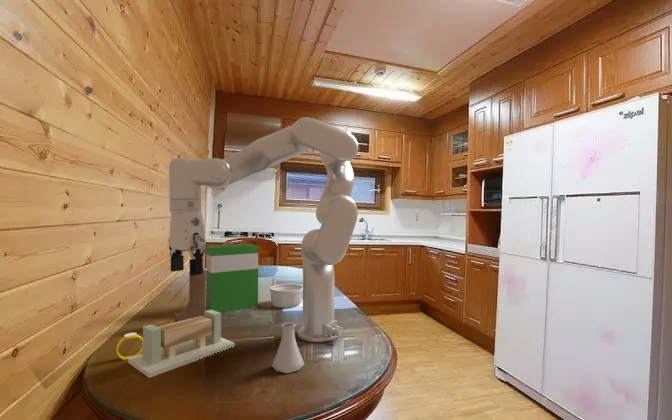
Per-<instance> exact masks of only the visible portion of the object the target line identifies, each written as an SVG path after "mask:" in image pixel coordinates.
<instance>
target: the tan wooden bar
mask: <svg viewBox="0 0 672 420" xmlns="http://www.w3.org/2000/svg"><path fill="white" fill-rule="evenodd" d="M157 327H159V328H161V348H162V347H163V348H168V347H171V346H174V345H178V344H181V343H185V342H188V341H191V340H195V339H198V338H201V337H205V336H208V335H212V319H209V318H207V317H204V316H199V317H195V318H191V319H187V320H183V321H179V322H175V323H174V322H171V323H167V324H163V325H159V326H158V325H157Z"/></svg>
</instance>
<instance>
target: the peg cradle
mask: <svg viewBox="0 0 672 420" xmlns="http://www.w3.org/2000/svg"><path fill="white" fill-rule="evenodd" d="M205 317H207V318H209V319H212V335H208V336H205V337H201V338H198V339H195V340H191V341H188V342H185V343H181V344H178V345H174V346H171V347H168V348H163V347H162V346H161V328H159V327H158V326H156V325H155V324H148V325H143V326H142V339H143V352H142V353H141V354H140V355H138V356H134V357H131V358H128V359H127V363H128V364H129V365H130V366H132V367H133V368H135V369H136V370H138V371H139V372H140V373H142V374H143V375H144V376H145V377H147V378H149V379H150V378H153V377H155V376H158V375H161V374H163V373H166V372H170V371H172V370H175V369H177V368H179V367H182V366H186V365H188V364H192V363H194V362H197V361H199V359H200V360H202V359H205V358H207V356H208V357H210V356H213V355H215V354H214V353H216V354H218V353H217V352H219V353H221V352H223V350H224V351H227V350H229V349H228V348H230V349H232V348H234V346H235V347H236V343H235V342H233V341H231V340H229V339H226V338H224V337H222V313H220V312H217V311H214V310H206V311H205ZM231 347H232V348H231ZM226 349H227V350H226ZM220 351H221V352H220ZM212 354H213V355H212ZM209 355H210V356H209ZM204 357H205V358H204Z"/></svg>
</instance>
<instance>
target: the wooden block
mask: <svg viewBox="0 0 672 420" xmlns="http://www.w3.org/2000/svg"><path fill="white" fill-rule="evenodd" d="M188 274H189V277H188V278H189V280H188V285H189V287H188V288H189V290H188V291H189V292H188V293H189V294H188V297H189V299H188V301H187V302H188V303H187V305H186V306H185V307H184V308H183V309H180V310H178V311H177V310H176V311H175V312H174V313H173V323H175V322H179V321H183V320H187V319H191V318H195V317H199V316H204V317H205V311H207V310H206V268H203V273H202V274H199V275H193V276H191V275H190V269H189V273H188Z"/></svg>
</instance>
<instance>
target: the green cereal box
mask: <svg viewBox="0 0 672 420" xmlns="http://www.w3.org/2000/svg"><path fill="white" fill-rule="evenodd" d="M205 252H206V253H205V254H206V255H205V261H206V262H205V263H206V264H205V265H206V266H205V270H206V311H207V310H214V311H217V312H220V313H221V314H224V313H223V312H225V313H229V312H228V311H231V312H236V311H235V310H237V311H241V310H240V309H243V310H247V309H246V308H249V309H253V308H252V307H255V308H258V307H259V244H257V245H256V244H255V245H253V243H245V244H243V243H242V244H226V245H222V244H221V245H206V246H205Z"/></svg>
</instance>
